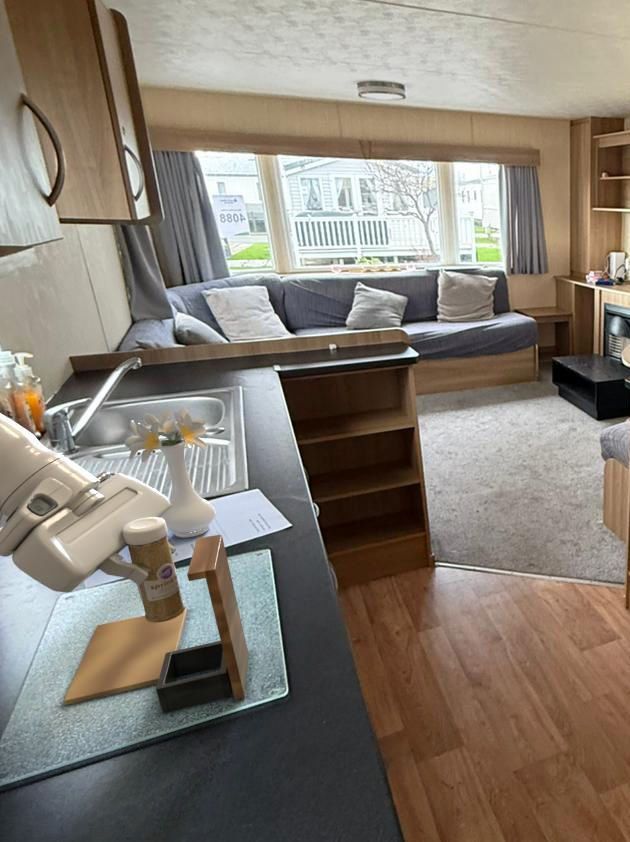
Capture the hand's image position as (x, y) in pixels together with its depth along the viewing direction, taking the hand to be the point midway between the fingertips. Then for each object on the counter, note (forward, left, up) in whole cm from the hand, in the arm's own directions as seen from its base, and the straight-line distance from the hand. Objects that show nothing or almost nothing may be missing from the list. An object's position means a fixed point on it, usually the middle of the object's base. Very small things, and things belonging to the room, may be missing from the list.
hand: (159, 566), depth 84 cm
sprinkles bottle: (-1, 0, -7) cm, 7 cm away
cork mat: (-8, +10, -18) cm, 23 cm away
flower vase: (-5, +51, -19) cm, 55 cm away
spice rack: (+2, -2, -18) cm, 19 cm away
